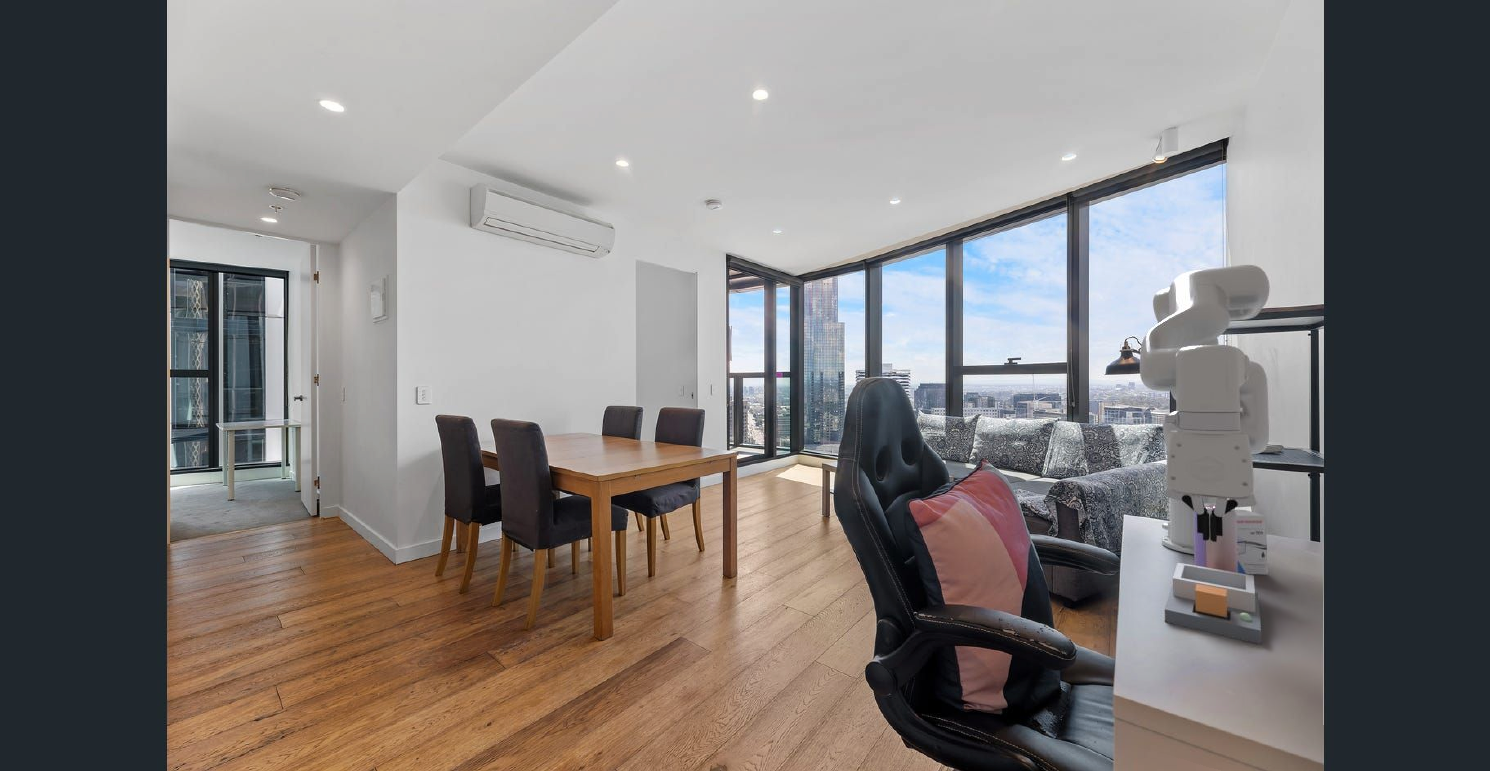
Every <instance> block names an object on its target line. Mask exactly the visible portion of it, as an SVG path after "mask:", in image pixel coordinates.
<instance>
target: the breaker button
mask: <svg viewBox="0 0 1490 771" xmlns="http://www.w3.org/2000/svg"><path fill="white" fill-rule="evenodd" d="M1195 602H1196V611H1200V612H1205V613H1210V614H1214V615H1219V616H1223V617H1227V589H1222V588H1217V587H1212V586H1206V585H1201V584H1196V589H1195Z"/></svg>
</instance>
